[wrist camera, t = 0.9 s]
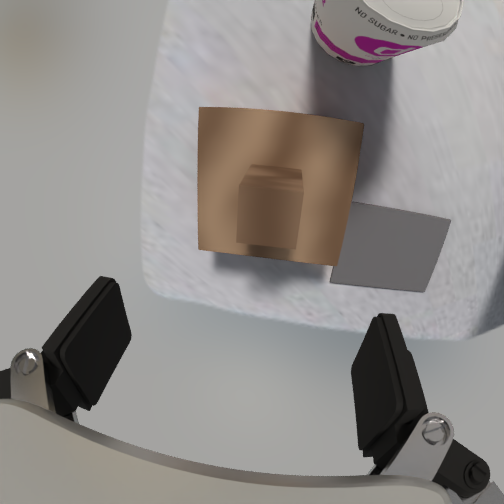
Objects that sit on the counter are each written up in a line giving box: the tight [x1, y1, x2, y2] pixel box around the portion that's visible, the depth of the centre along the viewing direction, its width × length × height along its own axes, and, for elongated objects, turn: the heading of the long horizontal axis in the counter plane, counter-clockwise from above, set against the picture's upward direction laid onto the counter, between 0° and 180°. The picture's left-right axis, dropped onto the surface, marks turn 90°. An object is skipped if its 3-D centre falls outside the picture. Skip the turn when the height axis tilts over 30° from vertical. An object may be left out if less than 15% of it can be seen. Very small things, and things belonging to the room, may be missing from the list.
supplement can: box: [311, 0, 464, 66], centre depth 14 cm, size 8×8×15 cm
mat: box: [330, 202, 451, 292], centre depth 31 cm, size 13×10×1 cm
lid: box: [198, 107, 364, 266], centre depth 22 cm, size 13×13×7 cm
